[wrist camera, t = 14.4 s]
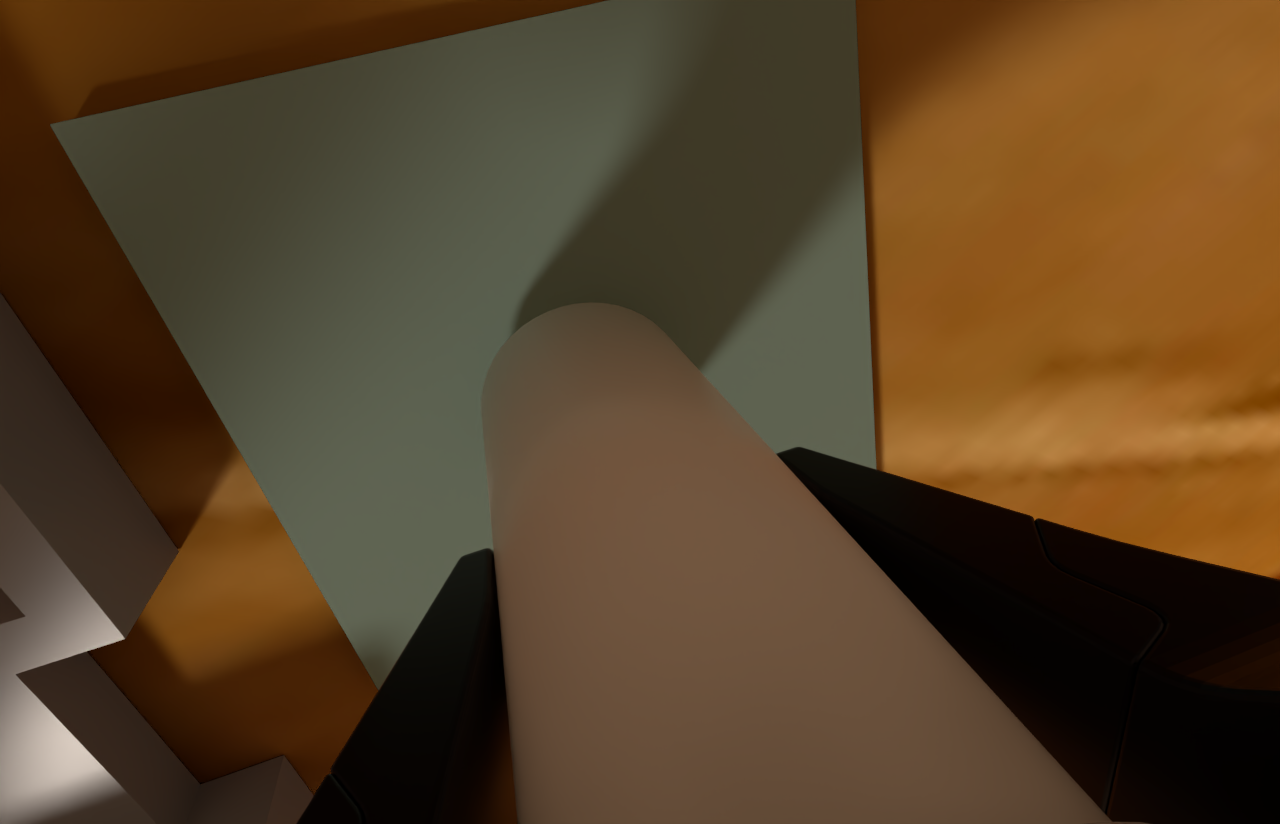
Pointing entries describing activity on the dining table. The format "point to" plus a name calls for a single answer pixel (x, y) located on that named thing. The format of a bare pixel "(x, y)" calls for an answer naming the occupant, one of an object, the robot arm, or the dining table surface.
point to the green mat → (495, 253)
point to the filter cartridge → (713, 617)
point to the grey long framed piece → (87, 628)
